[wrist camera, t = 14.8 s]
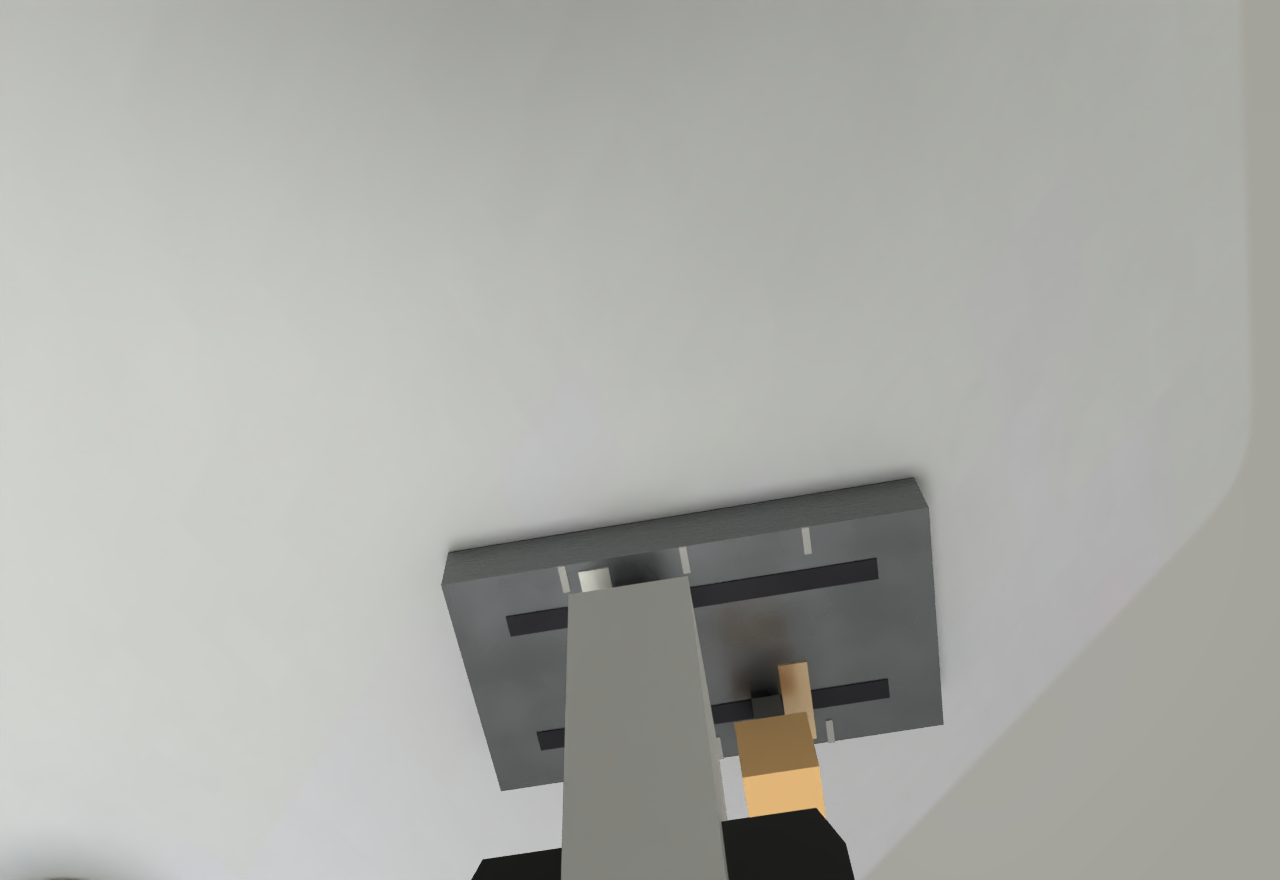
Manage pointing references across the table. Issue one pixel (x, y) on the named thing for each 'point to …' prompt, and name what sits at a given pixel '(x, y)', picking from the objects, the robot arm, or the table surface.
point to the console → (718, 617)
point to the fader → (778, 760)
